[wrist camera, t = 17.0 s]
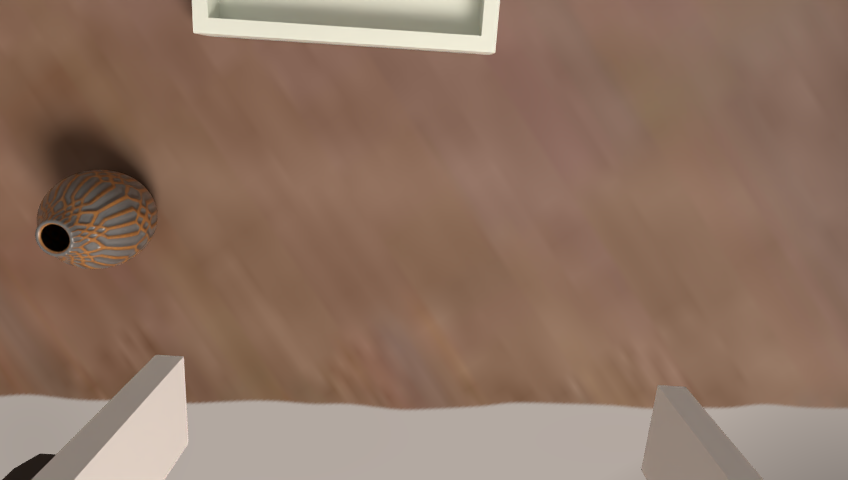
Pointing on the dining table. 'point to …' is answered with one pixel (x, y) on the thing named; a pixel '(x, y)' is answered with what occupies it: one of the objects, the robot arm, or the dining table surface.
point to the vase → (96, 219)
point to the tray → (356, 22)
